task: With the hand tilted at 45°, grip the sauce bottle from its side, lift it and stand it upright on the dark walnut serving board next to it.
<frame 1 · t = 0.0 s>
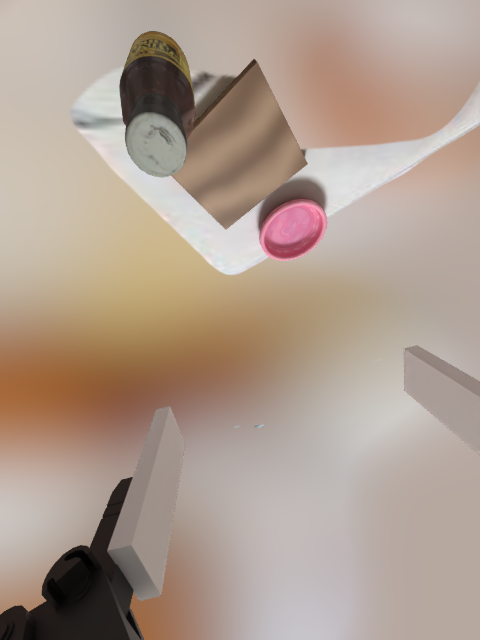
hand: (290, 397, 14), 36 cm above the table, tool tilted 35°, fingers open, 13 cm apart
saucer: (288, 223, 49), on the table
sauce bottle: (158, 70, 29), on the table
walnut serving board: (236, 159, 38), on the table
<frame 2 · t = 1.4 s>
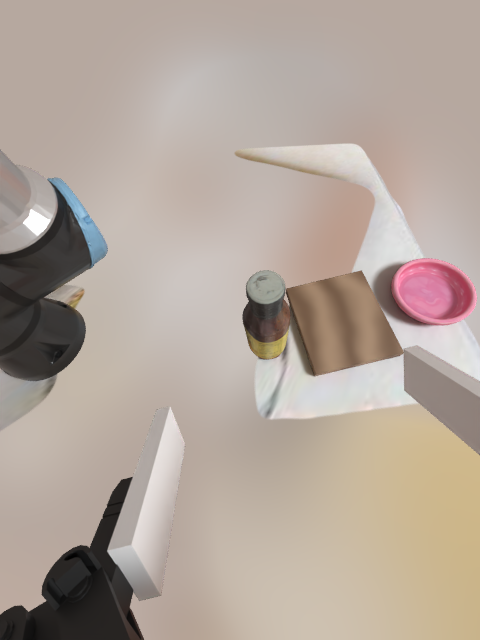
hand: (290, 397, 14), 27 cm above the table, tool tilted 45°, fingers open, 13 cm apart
saucer: (423, 298, 46), on the table
sauce bottle: (267, 345, 45), on the table
walnut serving board: (338, 321, 45), on the table
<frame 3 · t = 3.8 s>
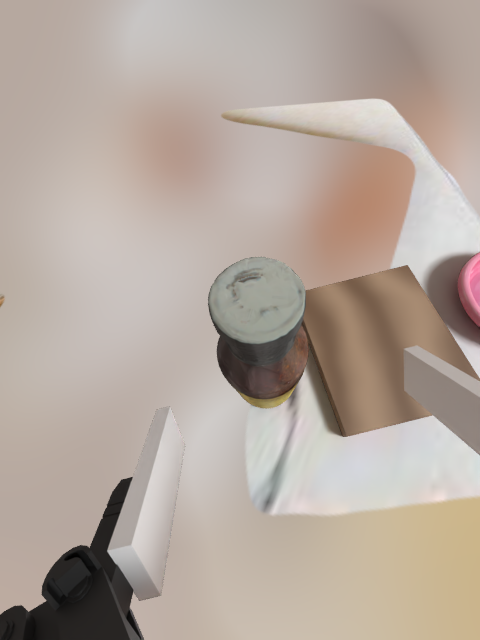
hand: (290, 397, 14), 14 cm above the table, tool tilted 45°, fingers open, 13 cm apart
sauce bottle: (265, 382, 29), on the table
walnut serving board: (375, 344, 29), on the table
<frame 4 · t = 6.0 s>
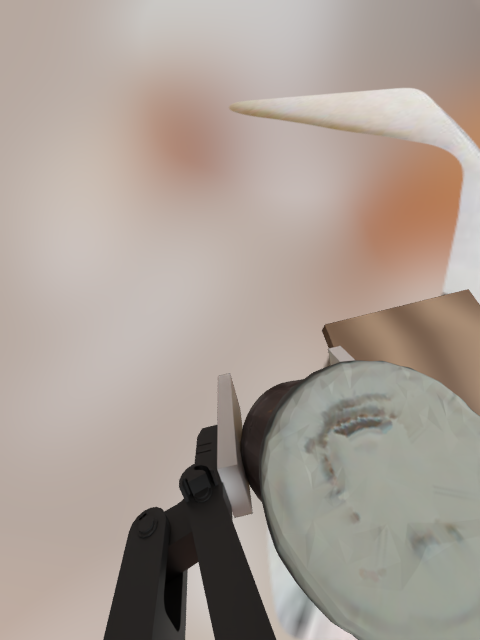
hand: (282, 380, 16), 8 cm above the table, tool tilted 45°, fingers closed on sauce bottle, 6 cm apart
sauce bottle: (290, 442, 22), on the table, touching gripper
walnut serving board: (432, 393, 22), on the table
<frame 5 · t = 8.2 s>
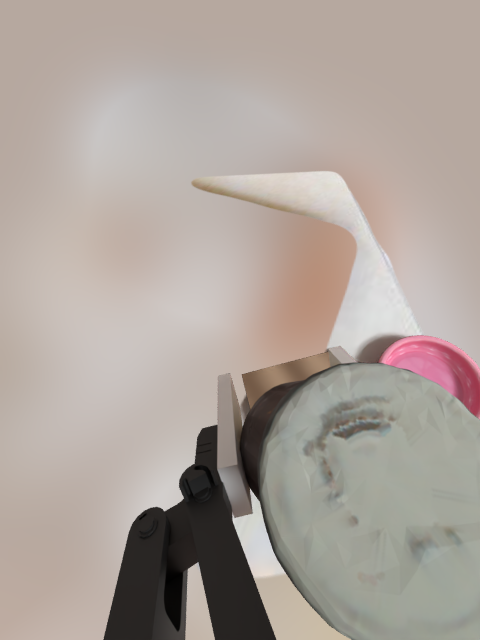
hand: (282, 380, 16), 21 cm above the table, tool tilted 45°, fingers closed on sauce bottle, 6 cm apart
saucer: (418, 386, 35), on the table
sauce bottle: (290, 442, 22), point 12 cm above the table, touching gripper
walnut serving board: (308, 421, 34), on the table
when the fingers open (11 cm above the table, at t = 10.6 s): sauce bottle drops 1 cm, resting on walnut serving board.
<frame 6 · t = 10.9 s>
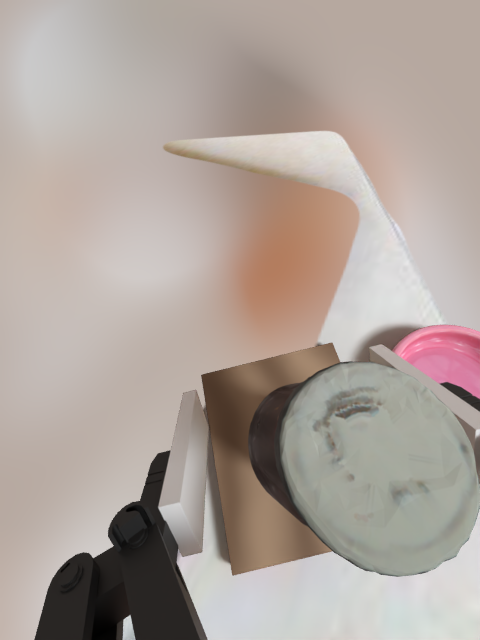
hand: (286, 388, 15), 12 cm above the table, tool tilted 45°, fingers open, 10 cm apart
saucer: (442, 395, 25), on the table
sauce bottle: (289, 443, 23), point 1 cm above the table, touching walnut serving board
walnut serving board: (288, 441, 25), on the table
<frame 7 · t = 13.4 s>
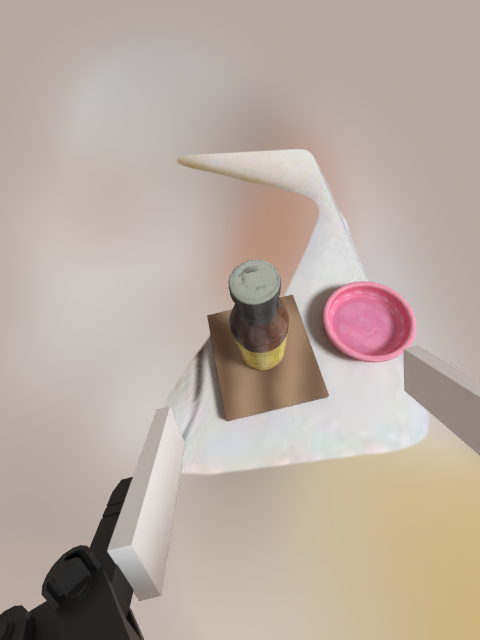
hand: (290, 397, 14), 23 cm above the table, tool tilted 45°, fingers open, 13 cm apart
saucer: (361, 327, 40), on the table
sauce bottle: (262, 353, 38), point 1 cm above the table, touching walnut serving board
walnut serving board: (262, 354, 39), on the table
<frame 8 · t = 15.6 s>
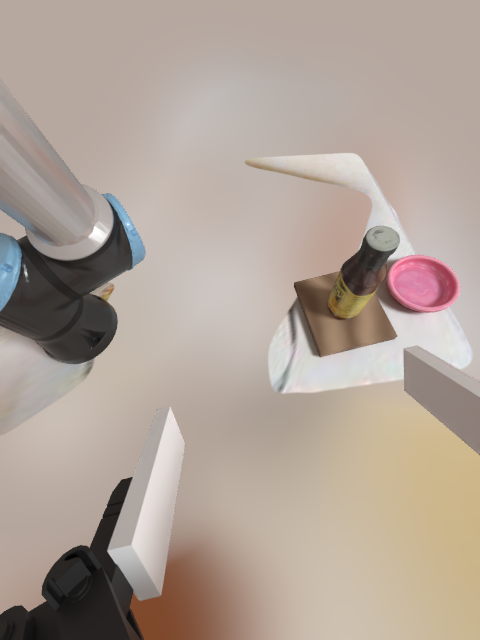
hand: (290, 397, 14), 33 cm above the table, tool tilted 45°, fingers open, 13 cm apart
saucer: (414, 289, 52), on the table
sauce bottle: (342, 308, 50), point 1 cm above the table, touching walnut serving board
walnut serving board: (340, 310, 51), on the table
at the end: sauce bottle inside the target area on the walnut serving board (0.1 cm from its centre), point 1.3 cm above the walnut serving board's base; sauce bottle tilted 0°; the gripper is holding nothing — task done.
